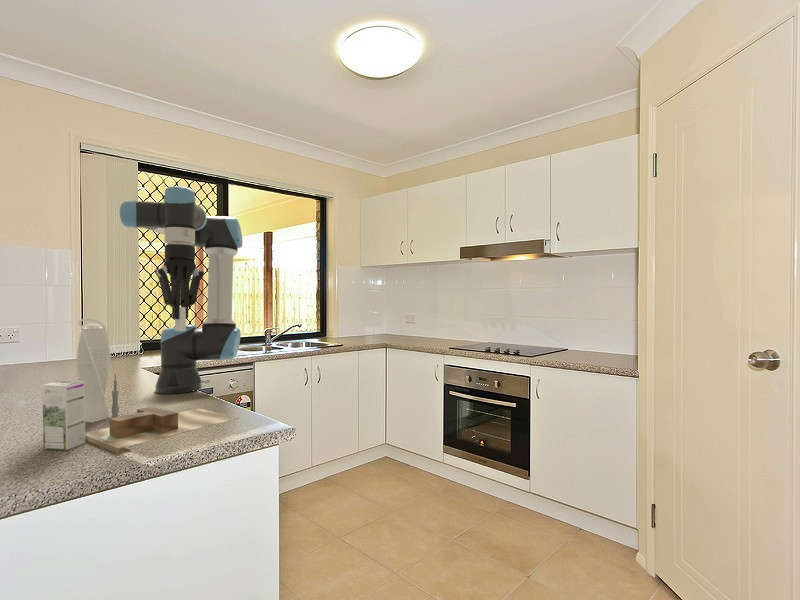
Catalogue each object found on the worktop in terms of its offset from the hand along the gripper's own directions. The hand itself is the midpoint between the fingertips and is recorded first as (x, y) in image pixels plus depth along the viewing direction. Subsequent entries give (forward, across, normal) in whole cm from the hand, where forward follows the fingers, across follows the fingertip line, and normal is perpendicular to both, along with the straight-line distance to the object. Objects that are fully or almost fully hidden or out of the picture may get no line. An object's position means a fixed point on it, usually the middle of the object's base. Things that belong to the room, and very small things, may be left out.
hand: (180, 330), depth 125 cm
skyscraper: (+25, -15, +15) cm, 32 cm away
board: (+24, -8, -6) cm, 26 cm away
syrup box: (+25, -27, 0) cm, 37 cm away
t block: (+23, -13, -6) cm, 27 cm away
